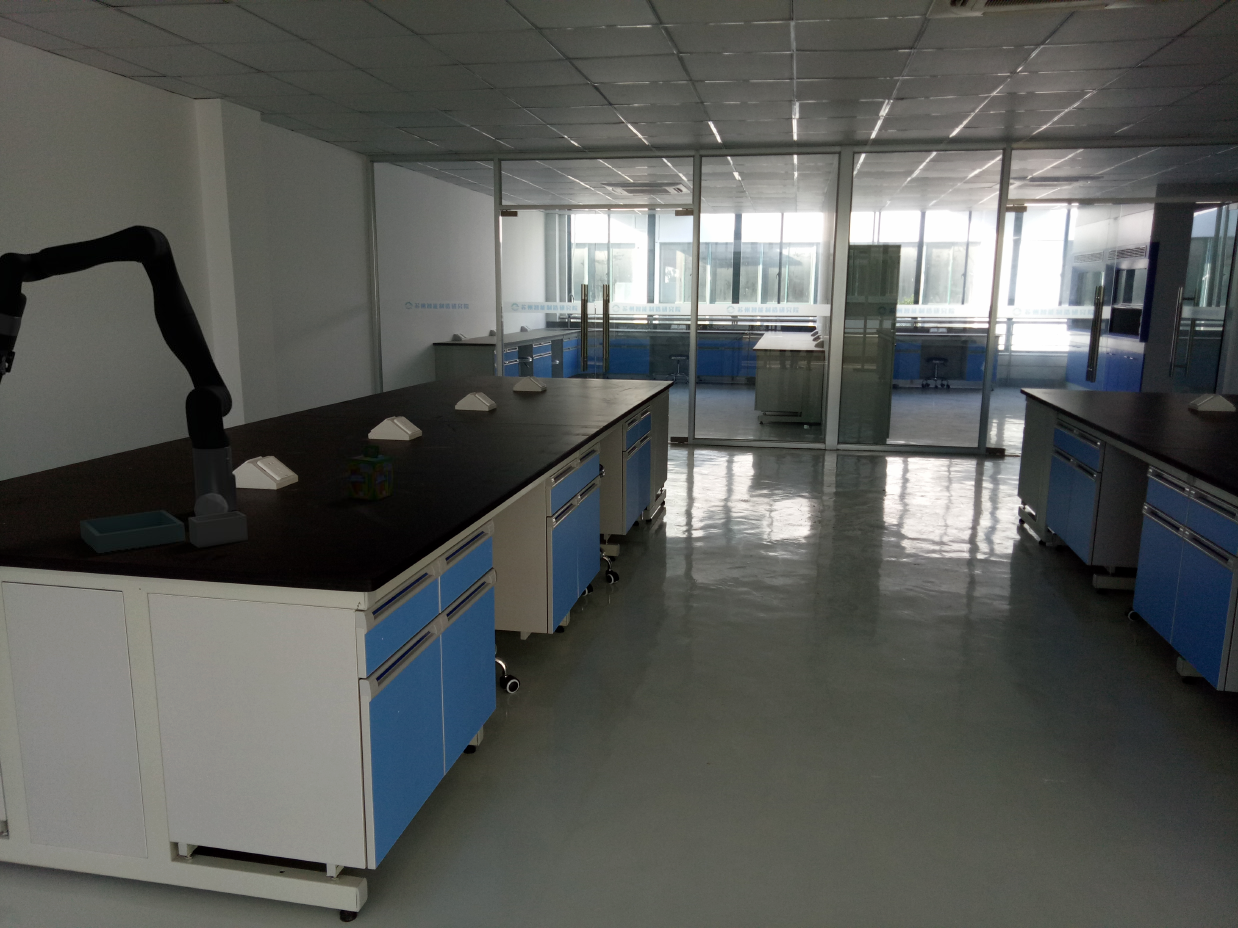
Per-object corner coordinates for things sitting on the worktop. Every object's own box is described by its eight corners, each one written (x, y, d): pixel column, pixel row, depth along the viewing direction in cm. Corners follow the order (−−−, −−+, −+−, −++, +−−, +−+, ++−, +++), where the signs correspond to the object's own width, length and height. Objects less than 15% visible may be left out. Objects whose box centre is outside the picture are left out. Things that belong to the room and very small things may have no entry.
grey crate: (238, 535, 213) (237, 510, 212) (247, 540, 209) (246, 515, 208) (190, 542, 206) (188, 517, 205) (198, 548, 202) (196, 522, 201)
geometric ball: (203, 533, 223) (185, 507, 223) (233, 518, 228) (215, 492, 228) (206, 525, 217) (188, 498, 217) (236, 509, 222) (218, 483, 222)
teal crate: (164, 527, 220) (163, 509, 219) (185, 542, 207) (184, 523, 207) (81, 539, 208) (79, 520, 207) (98, 555, 196) (96, 536, 195)
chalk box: (348, 498, 253) (346, 447, 250) (367, 492, 261) (365, 442, 259) (375, 501, 250) (373, 449, 247) (394, 494, 258) (393, 444, 256)
